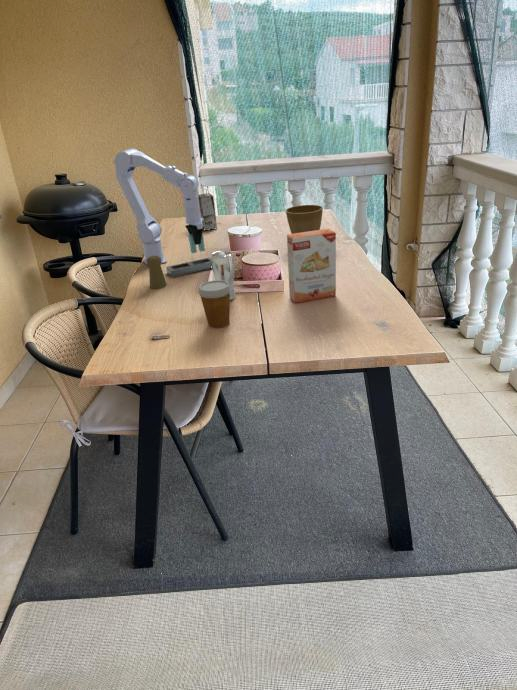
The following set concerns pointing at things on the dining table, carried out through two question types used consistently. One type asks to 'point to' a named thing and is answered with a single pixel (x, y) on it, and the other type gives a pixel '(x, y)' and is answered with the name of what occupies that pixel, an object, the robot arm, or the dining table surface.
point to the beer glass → (224, 268)
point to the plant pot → (304, 218)
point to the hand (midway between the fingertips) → (196, 243)
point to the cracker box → (312, 265)
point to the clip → (193, 246)
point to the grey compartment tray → (189, 267)
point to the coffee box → (207, 211)
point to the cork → (156, 272)
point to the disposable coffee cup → (216, 302)
